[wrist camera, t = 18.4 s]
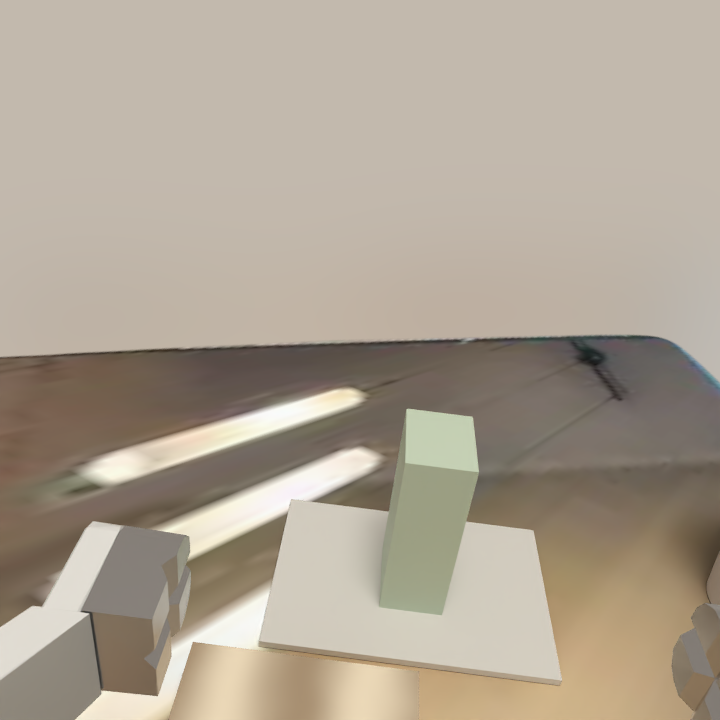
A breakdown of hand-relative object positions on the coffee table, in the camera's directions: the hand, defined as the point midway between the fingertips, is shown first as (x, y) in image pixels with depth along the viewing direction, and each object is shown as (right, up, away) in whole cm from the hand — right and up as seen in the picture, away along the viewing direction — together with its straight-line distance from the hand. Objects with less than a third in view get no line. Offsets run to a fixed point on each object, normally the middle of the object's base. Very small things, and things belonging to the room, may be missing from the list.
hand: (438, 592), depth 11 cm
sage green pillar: (+2, -11, +35) cm, 36 cm away
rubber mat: (+2, -11, +35) cm, 37 cm away
